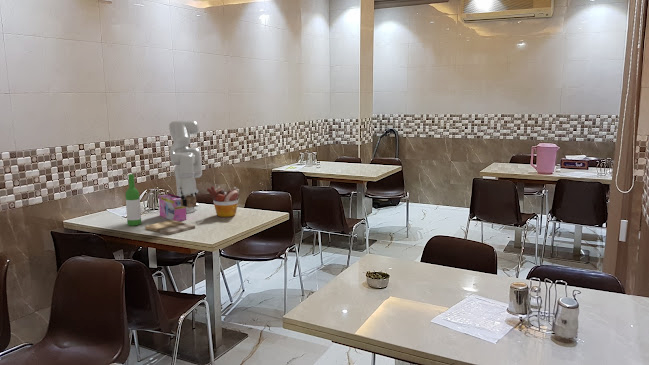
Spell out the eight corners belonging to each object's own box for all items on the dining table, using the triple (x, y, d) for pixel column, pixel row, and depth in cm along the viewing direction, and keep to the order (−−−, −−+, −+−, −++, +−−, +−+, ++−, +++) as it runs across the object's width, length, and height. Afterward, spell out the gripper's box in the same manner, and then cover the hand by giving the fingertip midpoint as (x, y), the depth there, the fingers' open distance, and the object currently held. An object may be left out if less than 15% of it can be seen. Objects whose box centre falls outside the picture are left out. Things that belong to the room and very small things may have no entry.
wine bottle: (125, 224, 300) (122, 174, 295) (139, 222, 304) (135, 173, 299) (129, 226, 294) (125, 176, 289) (143, 224, 298) (139, 174, 293)
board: (185, 225, 296) (185, 223, 295) (195, 228, 290) (195, 225, 290) (159, 232, 281) (158, 229, 281) (168, 234, 276) (168, 232, 276)
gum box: (158, 215, 323) (157, 194, 321) (170, 213, 328) (169, 192, 326) (174, 221, 305) (173, 199, 303) (187, 219, 310) (186, 198, 308)
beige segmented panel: (171, 222, 303) (171, 219, 303) (184, 225, 296) (184, 222, 296) (145, 228, 289) (145, 225, 289) (157, 231, 282) (157, 229, 282)
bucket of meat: (233, 210, 334) (232, 181, 330) (245, 215, 321) (244, 184, 317) (205, 215, 322) (204, 184, 319) (216, 220, 309) (215, 188, 306)
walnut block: (187, 204, 308) (187, 194, 306) (196, 206, 303) (196, 196, 302) (181, 205, 304) (180, 196, 302) (189, 207, 299) (189, 198, 298)
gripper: (194, 172, 308) (196, 201, 312) (171, 176, 295) (172, 206, 299) (202, 174, 304) (204, 203, 308) (179, 178, 291) (180, 208, 294)
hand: (188, 204), depth 303 cm, fingers closed on walnut block, 5 cm apart
